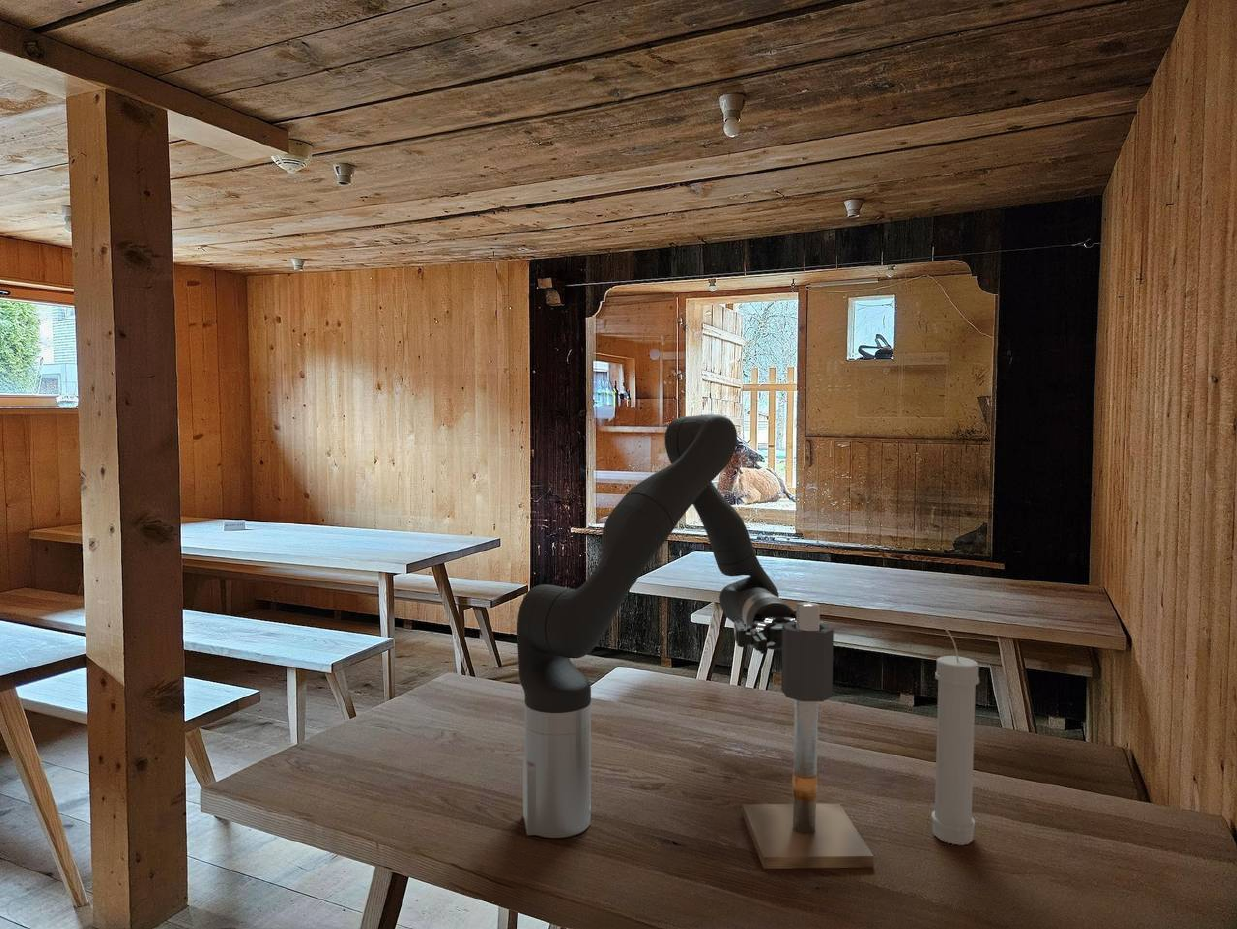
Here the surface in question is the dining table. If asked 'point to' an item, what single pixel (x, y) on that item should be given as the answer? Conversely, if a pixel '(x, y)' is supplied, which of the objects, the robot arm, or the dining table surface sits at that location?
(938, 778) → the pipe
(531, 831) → the robot arm
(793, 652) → the collar
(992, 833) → the dining table surface
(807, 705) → the post
